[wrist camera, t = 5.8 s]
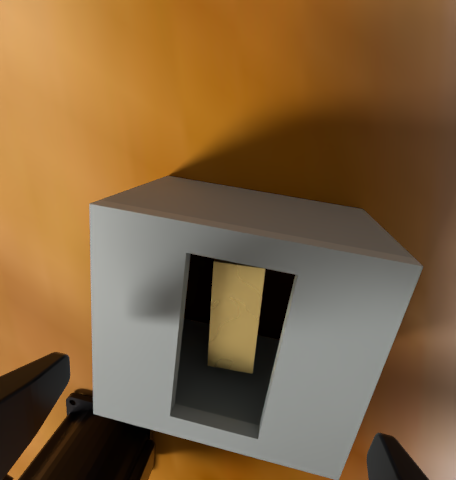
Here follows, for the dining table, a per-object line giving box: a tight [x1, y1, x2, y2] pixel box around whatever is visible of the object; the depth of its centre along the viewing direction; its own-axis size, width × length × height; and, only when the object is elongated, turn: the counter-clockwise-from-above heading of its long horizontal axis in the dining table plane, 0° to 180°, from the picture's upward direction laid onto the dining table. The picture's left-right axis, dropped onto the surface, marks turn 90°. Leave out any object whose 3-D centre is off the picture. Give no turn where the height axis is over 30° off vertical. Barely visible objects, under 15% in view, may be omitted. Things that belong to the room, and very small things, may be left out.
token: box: [207, 259, 266, 374], centre depth 15 cm, size 2×5×5 cm, turn 176°
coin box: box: [90, 176, 423, 480], centre depth 14 cm, size 10×9×7 cm
